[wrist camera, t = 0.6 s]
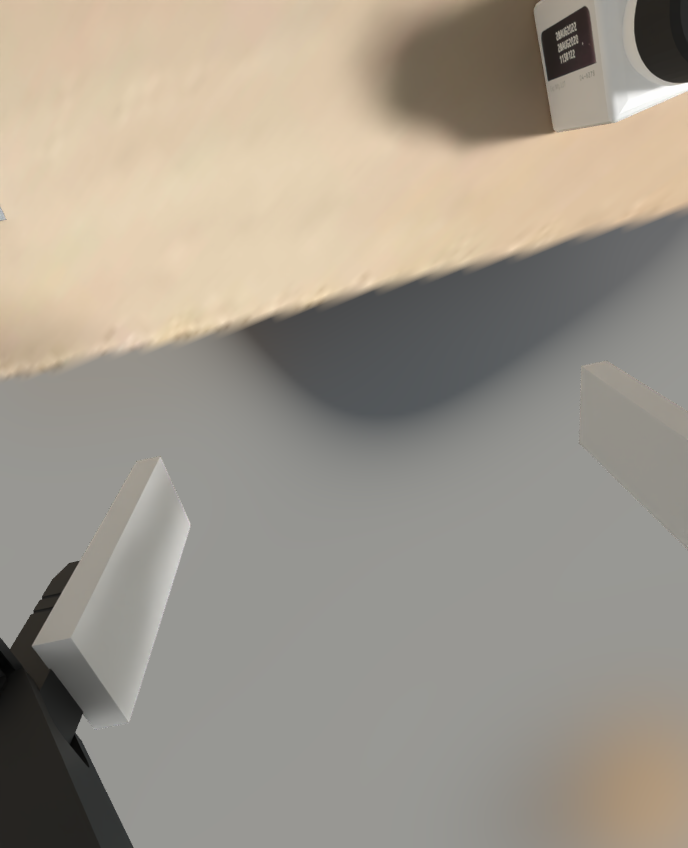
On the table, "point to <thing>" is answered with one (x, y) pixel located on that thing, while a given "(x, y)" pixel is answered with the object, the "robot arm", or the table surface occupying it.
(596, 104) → the container
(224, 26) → the table surface
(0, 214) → the jig
